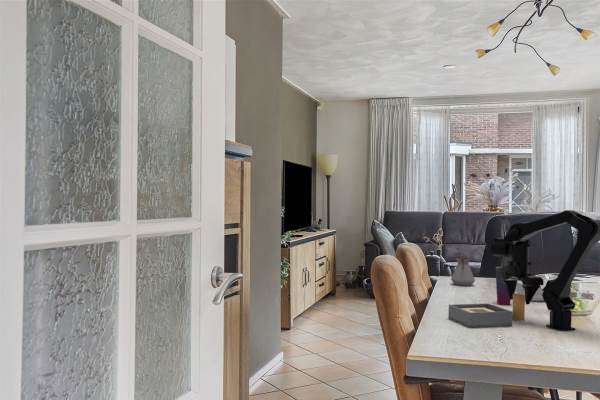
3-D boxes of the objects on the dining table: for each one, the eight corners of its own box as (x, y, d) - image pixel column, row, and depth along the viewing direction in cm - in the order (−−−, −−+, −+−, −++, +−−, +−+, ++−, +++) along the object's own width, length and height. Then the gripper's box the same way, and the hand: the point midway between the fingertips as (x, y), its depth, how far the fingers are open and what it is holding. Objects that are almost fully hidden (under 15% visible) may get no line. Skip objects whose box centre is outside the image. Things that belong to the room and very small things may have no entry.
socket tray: (512, 326, 179) (512, 311, 179) (469, 328, 175) (470, 313, 175) (488, 317, 193) (488, 303, 193) (448, 318, 189) (448, 304, 189)
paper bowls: (529, 303, 221) (530, 284, 221) (506, 296, 236) (506, 279, 236) (560, 302, 225) (560, 283, 225) (535, 295, 240) (535, 278, 240)
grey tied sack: (451, 282, 274) (452, 253, 274) (474, 284, 270) (475, 254, 270) (449, 289, 254) (449, 257, 254) (474, 290, 250) (475, 259, 250)
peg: (526, 320, 189) (527, 295, 188) (517, 320, 188) (517, 295, 188) (519, 318, 192) (520, 293, 192) (510, 318, 191) (510, 293, 191)
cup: (514, 306, 214) (514, 269, 214) (496, 305, 215) (497, 268, 215) (510, 303, 221) (511, 267, 221) (493, 302, 222) (494, 266, 222)
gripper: (484, 255, 197) (484, 297, 197) (516, 261, 179) (515, 307, 179) (511, 255, 200) (510, 297, 200) (545, 261, 182) (544, 306, 182)
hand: (519, 301), depth 190 cm, fingers open, 9 cm apart
